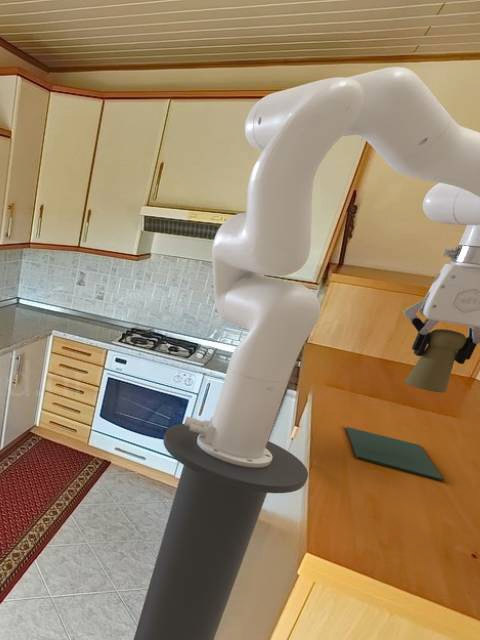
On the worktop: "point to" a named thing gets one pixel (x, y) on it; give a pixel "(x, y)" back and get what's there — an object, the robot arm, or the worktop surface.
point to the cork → (436, 361)
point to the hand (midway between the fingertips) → (438, 357)
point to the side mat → (392, 453)
